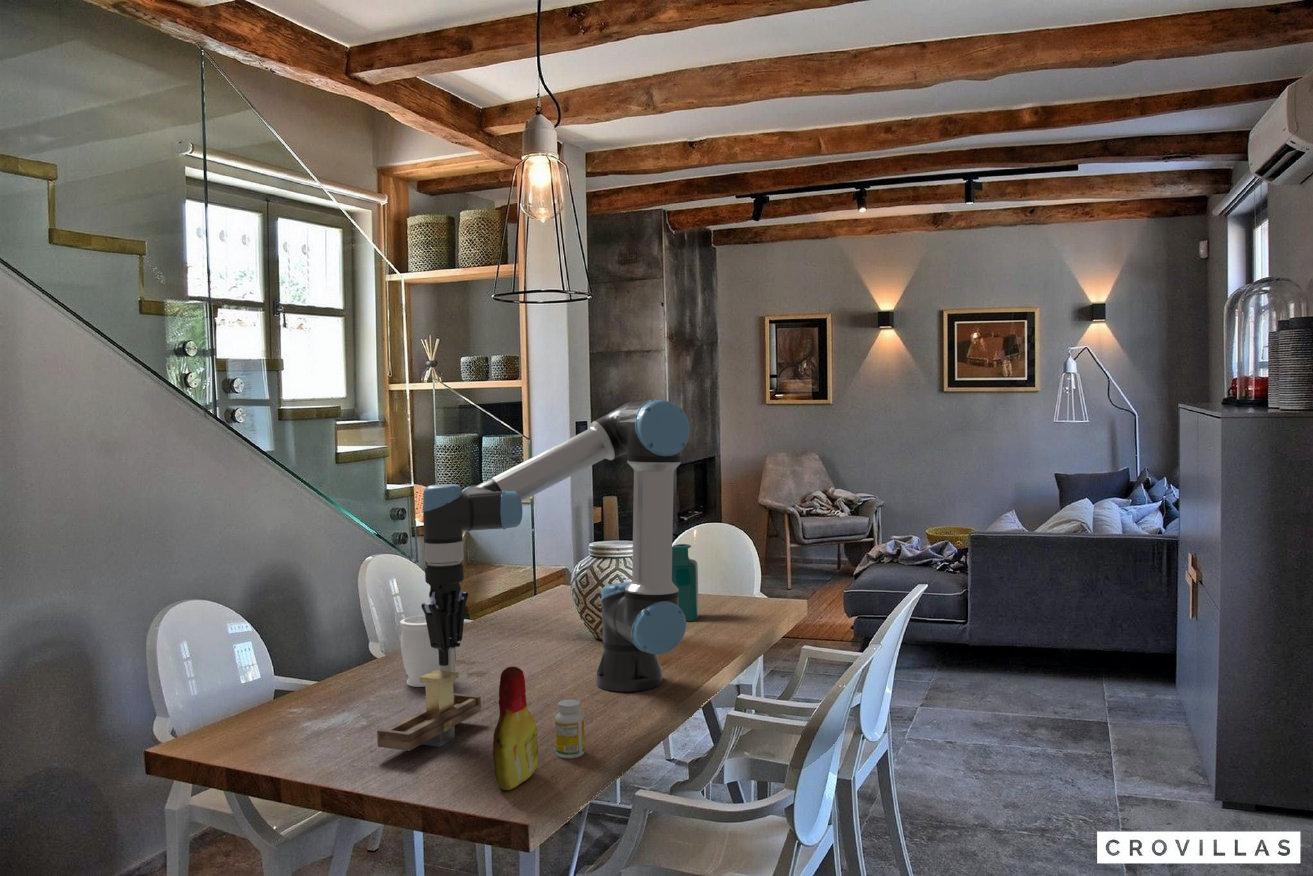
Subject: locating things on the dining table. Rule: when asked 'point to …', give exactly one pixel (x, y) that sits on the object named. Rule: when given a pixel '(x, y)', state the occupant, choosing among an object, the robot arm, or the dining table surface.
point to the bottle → (514, 733)
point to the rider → (438, 692)
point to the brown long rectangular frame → (429, 726)
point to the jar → (417, 650)
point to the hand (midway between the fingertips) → (447, 680)
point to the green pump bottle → (685, 581)
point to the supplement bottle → (569, 730)
